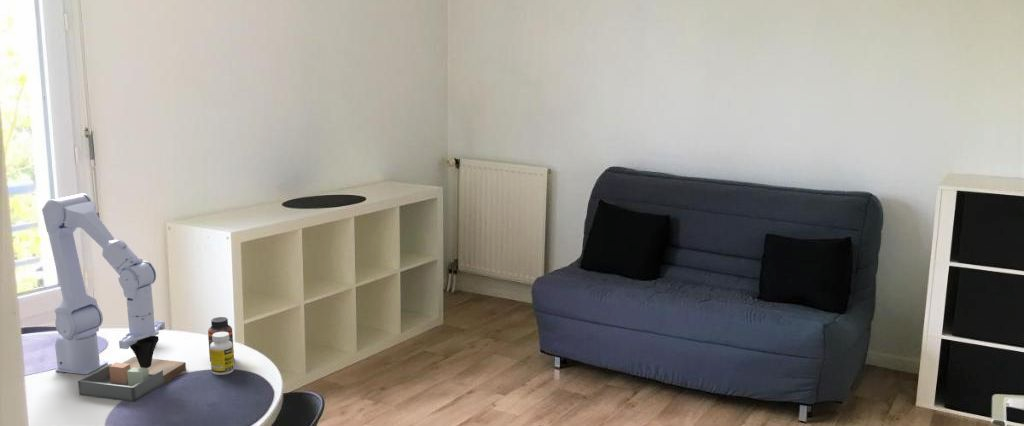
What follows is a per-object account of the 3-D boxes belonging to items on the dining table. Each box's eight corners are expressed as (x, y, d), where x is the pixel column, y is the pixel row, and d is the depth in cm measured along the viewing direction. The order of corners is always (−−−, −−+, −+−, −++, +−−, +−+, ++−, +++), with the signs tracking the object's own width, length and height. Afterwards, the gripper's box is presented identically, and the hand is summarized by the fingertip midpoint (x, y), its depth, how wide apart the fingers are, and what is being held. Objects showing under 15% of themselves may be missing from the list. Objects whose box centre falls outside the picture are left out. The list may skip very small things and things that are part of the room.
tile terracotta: (117, 377, 227) (110, 381, 224) (115, 362, 226) (109, 366, 224) (131, 379, 226) (124, 383, 223) (130, 364, 225) (123, 367, 223)
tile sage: (135, 382, 224) (128, 387, 221) (133, 367, 223) (127, 371, 220) (149, 384, 223) (143, 388, 220) (148, 368, 222) (142, 372, 220)
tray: (79, 395, 218) (77, 381, 217) (110, 377, 228) (109, 363, 228) (134, 401, 214) (133, 387, 213) (164, 383, 225) (162, 370, 224)
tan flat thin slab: (110, 377, 228) (110, 369, 228) (134, 364, 237) (133, 356, 236) (164, 383, 225) (163, 375, 224) (186, 369, 233) (185, 362, 233)
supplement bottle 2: (227, 376, 229) (224, 338, 227) (207, 374, 230) (204, 337, 228) (238, 368, 234) (235, 331, 232) (218, 366, 235) (215, 329, 233)
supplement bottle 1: (224, 367, 235) (220, 324, 232) (205, 363, 237) (201, 321, 235) (239, 358, 240) (236, 317, 238) (220, 355, 242) (217, 314, 240)
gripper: (135, 324, 214) (140, 380, 217) (173, 305, 227) (178, 357, 230) (109, 321, 216) (114, 376, 219) (148, 302, 229) (153, 354, 232)
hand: (145, 366), depth 225 cm, fingers closed
